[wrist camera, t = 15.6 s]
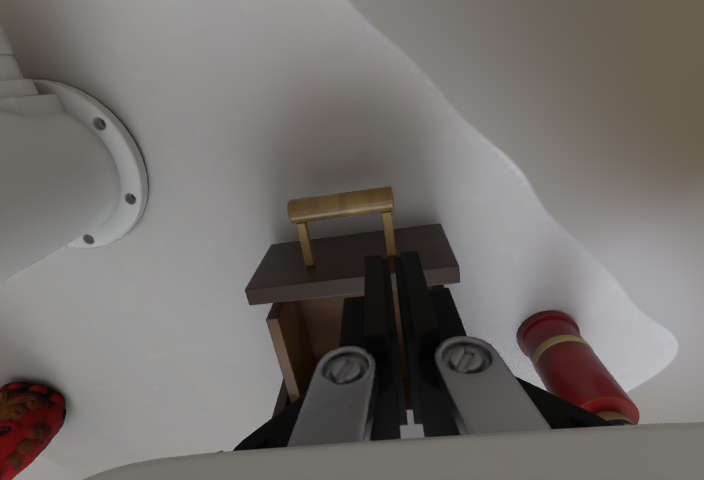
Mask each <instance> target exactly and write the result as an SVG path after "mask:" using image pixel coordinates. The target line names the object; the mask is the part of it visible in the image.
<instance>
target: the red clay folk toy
mask: <svg viewBox="0 0 704 480" xmlns="http://www.w3.org/2000/svg"><path fill="white" fill-rule="evenodd" d="M64 407H65V399H64V398H63V397H62V396H61V394H58V393H54V392H53V391H50V390H49V389H48V388H46V387H44V386H42V385H33V386H31V385H27V384H25V383H23V382H14V383H11V384H6V385H4V386H3V387H1V388H0V480H12V479H13V478H14V477H15V476H16V475H17V474H19V473H20V472H21V471H22V470H24V469H25V468H26V467H27V466H28V465H29V464H31V463H32V462H33V461H34V459H35V458H36V457H37V456H38V455H39V454H40V453H41V452H42V451H43V450H44V449H45V448H46V447H47V446H48V444H49V443H50V441H51V440H52V439H53V437H54V436H55V435H56V434H57V433H58V432H59V430H60V429H61V427H62V426H63V423H64V420H65V415H66V409H65V408H64Z"/></svg>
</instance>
